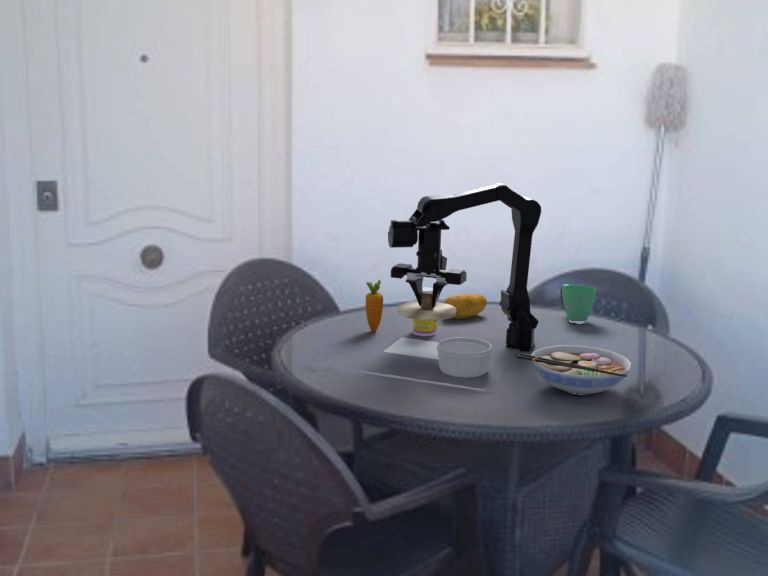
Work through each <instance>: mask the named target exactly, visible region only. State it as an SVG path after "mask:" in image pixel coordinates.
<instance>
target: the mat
mask: <svg viewBox="0 0 768 576" xmlns="http://www.w3.org/2000/svg"><path fill="white" fill-rule="evenodd" d="M438 342H439V341H432V340H426V339H425V340H424V339H416V338H410V337H404V336H403V337H400V338H399V339H398V340H396V341H395V342H394V343H392V344H391V345H390V346H388V347H387V348H385V349H384V350H383V351H382V352H383V353H389V354H395V355H402V356H409V357H416V358H423V359H431V360H438V361H439V359H438V351H437V344H438Z"/></svg>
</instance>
